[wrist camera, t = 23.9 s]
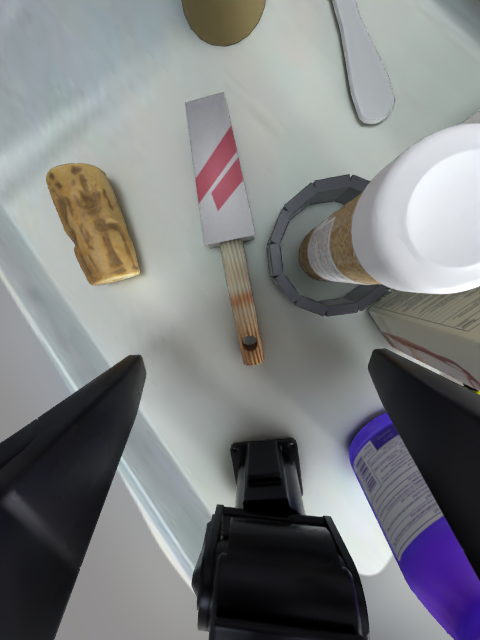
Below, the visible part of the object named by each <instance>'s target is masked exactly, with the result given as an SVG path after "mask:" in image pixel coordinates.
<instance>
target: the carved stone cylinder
mask: <svg viewBox="0 0 480 640" xmlns="http://www.w3.org/2000/svg"><path fill="white" fill-rule="evenodd" d="M46 181H47V185H48V189H49V191H50V194H51V197H52V200H53V202H54V204H55V207H56V210H57V212H58V214H59V217H60V219H61V222H62V224H63V227H64V230H65V232H66V233H67V235H68V236H69V237H70V238H71V240H72V241H73V242H74V244H75V248H74V251H75V255H76V257H77V259H78V262H79V264H80V266H81V268H82V270H83V272H84V274H85V276H86V278H87V280H88V282H89V283H90V284H91V285H93V286H96V285H103V284H108V283H112V282H116V281H120V280H123V279H127V278H131V277H134V276H137V275H139V274H140V269H139V267H138V261H137V258H136V253H135V249H134V246H133V243H132V240H131V238H130V237H129V235H128V231H127V228H126V223H125V221H124V218H123V214H122V212H121V210H120V207H119V204H118V201H117V199H116V196H115V194H114V192H113V190H112V187H111V185H110V183H109V180H108V179H107V177H106V174H105V173H104V172H103V171H102V170H101V169H99V168H98V167H95V166H92V165H89V164H84V163H70V164H64V165H59V166H56V167H54V168H52V169H50V170H49V172H48V173H47V176H46Z"/></svg>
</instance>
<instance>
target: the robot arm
mask: <svg viewBox="0 0 480 640" xmlns="http://www.w3.org/2000/svg"><path fill="white" fill-rule="evenodd" d="M368 371H369V373H370V376H371V378H372V380H373V383H374V385H375V388H376V390H377V392H378V395H379V397H380V399H381V402H382V404H383V406H384V408H385V410H386V412H387V414H388V415H389V417H390V419H391V421H392V423H393V424H394V426H395V428H396V430H397V432H398V434H399V435H400V437H401V439H402V441H403V443H404V444H405V446H406V448H407V450H408V452H409V454H410V455H411V457H412V459H413V461H414V463H415V464H416V466H417V468H418V470H419V472H420V473H421V475H422V477H423V479H424V481H425V483H426V484H427V486H428V488H429V490H430V492H431V493H432V495H433V497H434V499H435V501H436V503H437V504H438V506H439V508H440V510H441V512H442V513H443V515H444V517H445V519H446V521H447V523H448V524H449V526H450V528H451V530H452V532H453V533H454V535H455V537H456V539H457V541H458V542H459V544H460V546H461V548H462V549H464V550H463V552H464V554H465V556H466V557H467V559H468V561H469V563H470V565H471V566H472V568H473V570H474V572H475V574H476V576H477V577H478V579H479V581H480V395H479V394H477V393H475V392H473V391H471V390H469V389H467V388H465V387H463V386H461V385H459V384H457V383H455V382H453V381H451V380H449V379H447V378H445V377H443V376H441V375H439V374H437V373H434V372H432V371H430V370H428V369H426V368H424V367H422V366H420V365H418V364H416V363H414V362H412V361H410V360H408V359H406V358H404V357H402V356H400V355H398V354H396V353H394V352H392V351H390V350H388V349H374V350H373V352H372V355H371V358H370V361H369V364H368ZM145 379H146V369H145V366H144V362H143V358H142V356H141V355H129V356H127V357H126V358H125V359H123V360H122V361H120V362H119V363H117V364H116V365H114V366H113V367H111V368H110V369H109V370H107V371H106V372H104V373H103V374H101V375H100V376H98V377H97V378H95V379H94V380H92V381H91V382H90V383H88V384H87V385H85V386H84V387H82V388H81V389H79V390H78V391H76V392H75V393H74V394H72V395H71V396H69V397H68V398H66V399H65V400H63V401H62V402H60V403H59V404H57V405H56V406H55V407H53V408H52V409H50V410H49V411H47V412H46V413H44V414H43V415H41V416H40V417H39V418H38V420H37V419H36V420H34V421H33V422H31V423H30V424H28V425H27V426H25V427H24V428H22V429H21V430H19V431H18V432H17V433H15V434H13V435H12V436H10V437H9V438H7V439H6V440H5V441H3V442H1V443H0V640H54V639H55V636H56V633H57V631H58V628H59V625H60V623H61V620H62V617H63V614H64V612H65V609H66V606H67V603H68V601H69V598H70V595H71V593H72V590H73V587H74V584H75V582H76V579H77V576H78V573H79V571H80V567H81V565H82V562H83V559H84V557H85V554H86V551H87V549H88V546H89V543H90V540H91V537H92V535H93V532H94V529H95V527H96V524H97V521H98V519H99V516H100V513H101V510H102V507H103V505H104V502H105V499H106V497H107V494H108V491H109V489H110V486H111V483H112V480H113V478H114V475H115V472H116V470H117V467H118V464H119V461H120V459H121V456H122V453H123V451H124V448H125V445H126V442H127V440H128V437H129V434H130V432H131V429H132V426H133V423H134V421H135V418H136V415H137V411H138V408H139V404H140V400H141V395H142V391H143V387H144V383H145ZM290 443H293V445H290ZM234 448H237V450H235V449H234ZM230 452H231V457H232V463H233V468H234V474H235V479H236V484H237V491H236V502H235V508H233V507H224V505H219V504H217V507H216V511H215V514H213V515H212V519H211V521H210V522H209V523H207V528H206V533H205V538H204V543H203V547H202V551H201V553H200V556H199V559H198V561H197V564H196V567H195V569H194V572H193V577H192V588H193V590H194V592H195V594H196V596H197V610H199V612H198V630H201V631H208V632H209V640H369V621H368V613H367V607H366V601H365V596H364V592H363V588H362V584H361V580H360V577H359V574H358V571H357V569H356V566H355V564H354V562H353V560H352V558H351V556H350V554H349V552H348V550H347V548H346V546H345V544H344V542H343V540H342V538H341V536H340V534H339V532H338V530H337V528H336V526H335V524H334V522H333V520H332V518H331V516H323V517H317V516H307V515H305V511H304V506H303V501H302V496H303V487H302V479H301V471H300V463H299V455H298V447H297V442H296V440H295V439H294V438H285V439H274V440H263V441H252V442H241V443H233V444H232V445H231V448H230Z"/></svg>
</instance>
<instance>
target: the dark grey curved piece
mask: <svg viewBox="0 0 480 640" xmlns="http://www.w3.org/2000/svg"><path fill="white" fill-rule="evenodd" d="M369 183H370V181H368V180H365V179H363V178H360V177H358V176H355V175H352V176H351V177H350V175H349V174H348V175H343V176H337V177H332V178H327V179H322V180H316V181H314V183H313V184H312V183H310V184H309V185H308V186H306V187H305V188H304V189H303V190H302V191H301V192H299V193H298V194H297V195H296V196H295V197H294V198H292V199H291V200H290V201H289V202H288V203H286V204H285V205H284V207H283V209H281V212H280V214H279V217H278V219H277V222H276V224H275V227H274V229H273V232H272V234H271V237H270V239H269V242H268V244H267V245H268V248H267V254H268V261H269V269H270V275H271V276H273V277H272V280H273V281H274V282H275V284H276V285H277V286H278V288H279V289H280V290H281V291H282V293H283V294H284V295H285V297H286V298H287V299H288V300H289V301H290V302H292V303H293V304H294V305H295V306H298V307H301V308H303V309H306V310H308V311H311V312H313V313H316V314H318V315H321V316H324V315H325V316H327V317H328V316H336V315H343V314H350V313H357V312H358V310H359V311H362V310H364V309H365V308H367V307H368V306H369V305H371V304H372V303H374V302H375V301H376V300H378V299H379V298H381V297H382V296H384V295H385V294H386V293H388V290H387V289H391V288H389V287H387V286H385V285H383V284H371V285H364V284H360V285H359V286H358V287H356V288H355V289H353V290H352V291H351V292H349V293H348V294H347V295H345V296H344V297H342V298H338V299H331V300H324V301H314V300H312V299H309V298H307V297H304V296H302V295H300V294H299V293H298V292H297V290H296V289H295V288H294V286H293V285H292V284H291V283H290V281H289V280H288V279H287V277H286V276H285V275H284V273H283V265H282V257H281V249H280V242H281V240H282V238H283V235H284V233H285V230H286V228H287V225H288V223H289V220H291V219H292V218H293V217H294V216H295V215H297V214H298V213H299V212H300V211H301V210H303V209H304V208H305V207H306V206H307V205H312V204H317V203H323V202H328V201H334V200H335V201H338V202H340V203H343V204H345V205H346V204H347V203H348V202H350V201H351V200H353V199H354V198H356V197H357V196H358V195H359V194H361V193H362V192H363V191H364V190H365V188H366V187H367V185H368V184H369Z"/></svg>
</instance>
